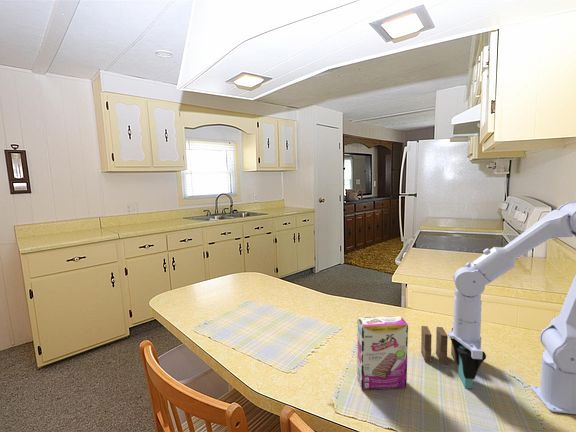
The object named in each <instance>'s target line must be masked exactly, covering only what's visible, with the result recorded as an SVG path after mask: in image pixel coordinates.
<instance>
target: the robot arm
mask: <svg viewBox="0 0 576 432" xmlns="http://www.w3.org/2000/svg"><path fill="white" fill-rule="evenodd" d="M573 237H575V238H576V201H567V202H566V203H563V204H561V205H560V206H559V207H558V208H557V209H553V210H551V211H549V212H548V213H547V214H545V215H544V216H543V217H541V219H539V220H537V221H536V222H535V223H533V225H531V226H530V227H528V228H527V229H526V230H525V231H523V232H522V233H521V234H520V235H518V236H517V237H515V238H514V239H513V240H511V241H510V242H509V243H507V244H506V245H505V246H503V247H499V246H493V247H492V248H490V249H489V248H485V249H484V250H482V252H483V254H481V255H480V256H479V257H477V258H476V259H474V260H473V261H471V262H470V261H468V262H467V263H465V266H462V267H459V268H458V269H456V271H455V272H454V274H453V277H452V278H453V282H454V285H455V289H454V298H453V321H452V328H453V332H452V331H449V332H447V336H448V338H449V339H450V341H452V344H453V347H454V352H455V357H456V361H457V364H458V365H457V364H456V365H457V366H459V354H460V357H461V361H462V367H463V374H464V377H465V378H468V379H473V380H475V379H476V376H477V373H478V370H479V369H480V367H479V366H481V364H482V363H483V362H484V361H485V360H486V358H487V353H485V351H483V350H482V337H481V335H482V333H481V331H482V328H481V327H482V298H481V297H482V294H483V292H484V291H485V287H486V285H488V284H491V282H493V281H495V280H497V279H498V278H500V277H502V275H505V274H506V273H508V272H509V271H510V270H512V269H515V264H516V263H515V262H516V259H518V258H520V257H521V256H523V255H524V254H526V253H528V252H530V251H531V250H533V249H535V248H536V247H538V246H539V245H542V244H543V243H545V242H546V241H548V240H550V239H554V238H573ZM539 340H540V343H541V344H542V346H543V347H544V348H545V350H544V352H543V353H542V355H541V367H540V368H541V369H540V383H539V384H540V385H539V386H535V385H532V386H530V389H531V390H532V391H533V393H535V395H536V397H538V399H540V401H541V402H542V403H543V404H544V405H545V407H547V409H548V410H549V411H550V412H552V413H553V412H554V413H563V414H571V415H576V273H575V275H574V278H573V280H572V282H571V284H570V287H569V290H568V291H567V294H566V296H565V299H564V302H563V304H562V307H561V310H560V311H559V314H558V315H557V316H556V317H554V318H552V319H551V320H550V323H549V325H548V326H546V327H545V328H544V329H542V330H541V332H540V333H539ZM459 346H465V347H466V349H463V348H459Z"/></svg>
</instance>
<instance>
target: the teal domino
mask: <svg viewBox="0 0 576 432" xmlns="http://www.w3.org/2000/svg"><path fill="white" fill-rule="evenodd" d="M459 348H463V349H466V347H465V346H459ZM457 373H458V374H457V375H459V376H458V378H459V377H460V378H459V380H460V379H461V380H460V381H462V382H461V384H462V386H463V388H464V389H468V388H472V389H473V383H474V382H473V381H474V379H468V378H465V377H464V374H463V367H462V361H461V357H460V354H459V365H458V372H457Z"/></svg>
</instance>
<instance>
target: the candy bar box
mask: <svg viewBox="0 0 576 432" xmlns="http://www.w3.org/2000/svg"><path fill="white" fill-rule="evenodd" d="M356 323H357V333H356V334H357V336H356V337H357V339H356V340H357V348H356V349H357V353H356V354H357V357H356V358H357V360H356V361H357V365H356V371H357V372H356V375H357V376H356V377H357V381H358V383H359V385H360V388H361V390H362V391H365V390H366V391H367V390H386V389H387V390H388V389H405V388H407V379H408V375H407V374H408V348H409V347H408V344H409V341H408V339H409V323H407V322H406V320H404V318H403V317H402V316H400V315H399V316H398V315H397V316H378V317H377V316H372V317H371V316H370V317H367V316H365V317H364V316H363V317H357V322H356Z"/></svg>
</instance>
